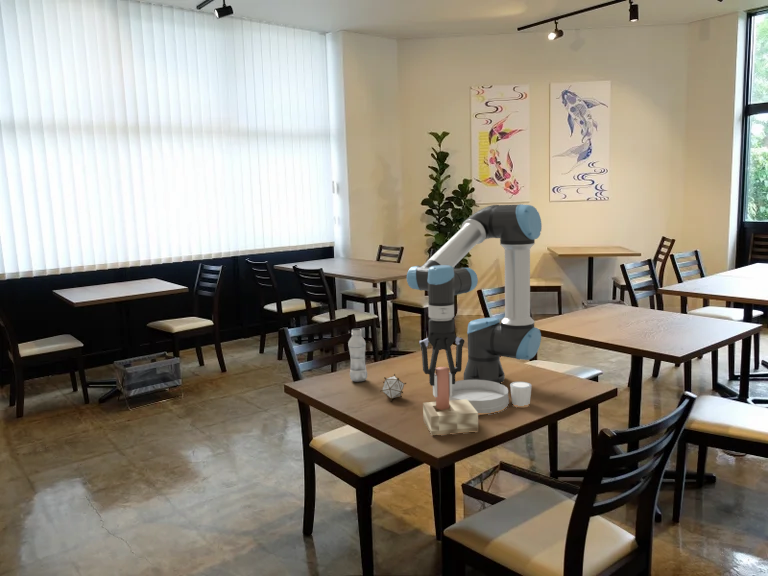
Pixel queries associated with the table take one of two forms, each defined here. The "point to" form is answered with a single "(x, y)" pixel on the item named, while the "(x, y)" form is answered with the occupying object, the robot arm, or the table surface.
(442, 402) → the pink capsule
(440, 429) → the birch block
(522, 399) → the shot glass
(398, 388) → the game die
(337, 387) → the table surface
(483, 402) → the dish
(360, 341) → the plastic bottle
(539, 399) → the table surface
